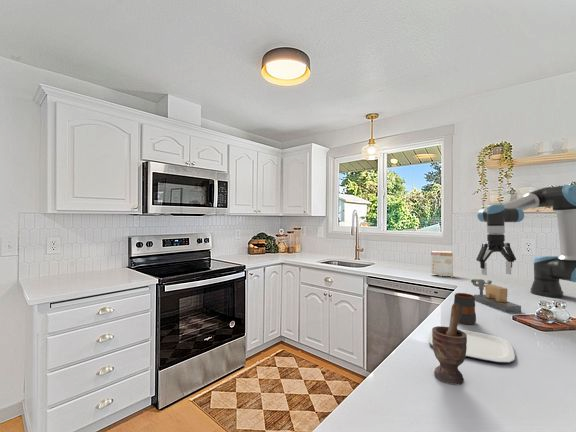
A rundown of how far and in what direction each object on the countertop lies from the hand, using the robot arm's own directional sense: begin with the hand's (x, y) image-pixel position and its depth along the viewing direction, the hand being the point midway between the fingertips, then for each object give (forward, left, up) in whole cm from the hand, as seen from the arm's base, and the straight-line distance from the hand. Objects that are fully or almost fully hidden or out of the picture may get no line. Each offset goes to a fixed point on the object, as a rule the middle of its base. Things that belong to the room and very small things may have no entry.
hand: (496, 274), depth 156 cm
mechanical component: (-5, -17, -17) cm, 24 cm away
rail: (0, 0, -16) cm, 16 cm away
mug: (+32, +21, -17) cm, 42 cm away
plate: (+48, +46, -17) cm, 69 cm away
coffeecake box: (-21, -81, -17) cm, 85 cm away
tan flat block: (0, 0, -16) cm, 16 cm away
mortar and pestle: (+68, +65, -17) cm, 96 cm away
